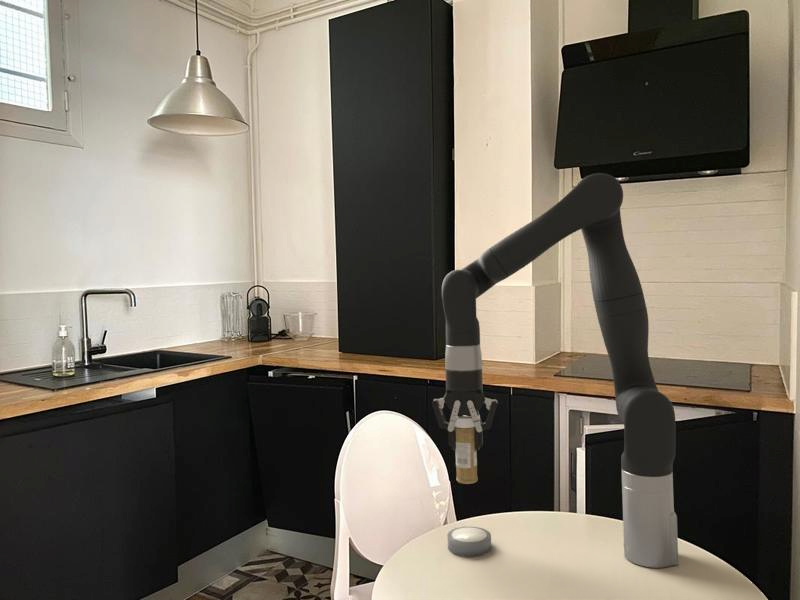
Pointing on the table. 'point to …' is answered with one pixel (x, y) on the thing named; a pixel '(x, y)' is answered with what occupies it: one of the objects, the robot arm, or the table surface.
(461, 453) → the sprinkles bottle
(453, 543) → the stand
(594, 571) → the table surface
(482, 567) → the table surface
